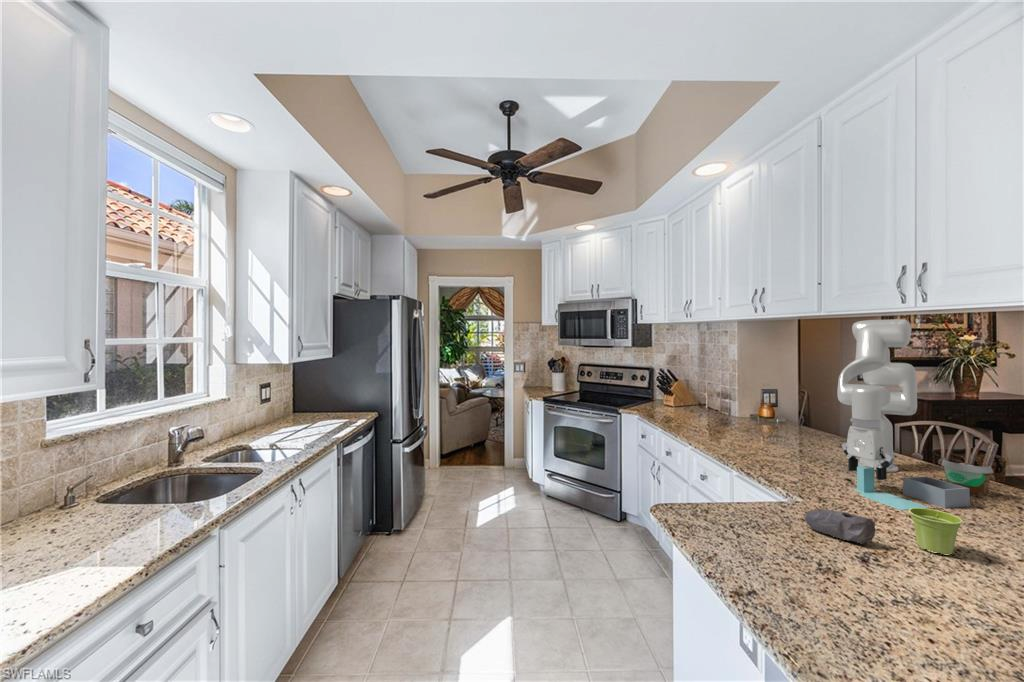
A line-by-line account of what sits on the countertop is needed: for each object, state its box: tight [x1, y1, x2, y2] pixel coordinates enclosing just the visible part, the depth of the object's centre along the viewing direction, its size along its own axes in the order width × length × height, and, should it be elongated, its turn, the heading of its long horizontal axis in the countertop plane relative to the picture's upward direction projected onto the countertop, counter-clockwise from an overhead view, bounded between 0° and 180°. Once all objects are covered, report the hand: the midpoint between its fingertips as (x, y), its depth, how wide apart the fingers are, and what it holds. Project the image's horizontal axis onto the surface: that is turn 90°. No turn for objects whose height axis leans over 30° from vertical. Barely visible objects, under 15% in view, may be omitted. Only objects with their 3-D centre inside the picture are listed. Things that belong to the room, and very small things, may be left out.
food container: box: [941, 457, 994, 497], centre depth 143 cm, size 12×6×10 cm, turn 25°
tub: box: [902, 475, 971, 509], centre depth 135 cm, size 12×9×6 cm
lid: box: [853, 466, 930, 511], centre depth 137 cm, size 17×10×9 cm, turn 8°
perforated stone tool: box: [803, 508, 877, 545], centre depth 112 cm, size 15×5×7 cm, turn 37°
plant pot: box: [908, 508, 963, 555], centre depth 105 cm, size 9×9×9 cm
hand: (866, 474), depth 143 cm, fingers open, 9 cm apart
